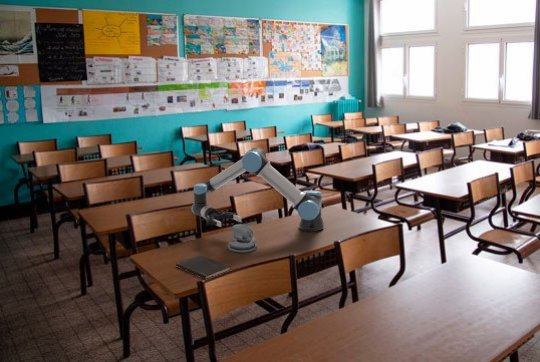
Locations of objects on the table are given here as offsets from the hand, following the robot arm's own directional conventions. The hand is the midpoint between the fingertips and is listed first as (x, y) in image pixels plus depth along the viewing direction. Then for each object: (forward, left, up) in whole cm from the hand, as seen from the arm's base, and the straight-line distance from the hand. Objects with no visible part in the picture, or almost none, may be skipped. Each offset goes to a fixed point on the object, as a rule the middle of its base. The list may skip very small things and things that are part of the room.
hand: (230, 222), depth 289 cm
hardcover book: (+32, +20, -13) cm, 40 cm away
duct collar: (0, +11, -12) cm, 16 cm away
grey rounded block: (0, +10, -8) cm, 13 cm away
